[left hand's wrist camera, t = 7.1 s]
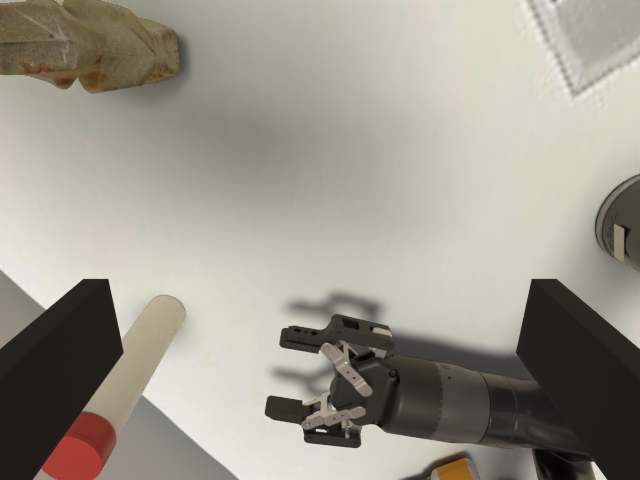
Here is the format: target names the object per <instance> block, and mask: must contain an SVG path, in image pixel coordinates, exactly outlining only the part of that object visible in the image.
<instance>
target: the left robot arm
mask: <svg viewBox="0 0 640 480" xmlns="http://www.w3.org/2000/svg"><path fill="white" fill-rule="evenodd" d="M123 353H124V351H123V346H122V341H121V336H120V332H119V327H118V322H117V318H116V313H115V308H114V304H113V299H112V294H111V290H110V285H109V280H108V279H83V280H82V281H81V282H79V283H78V284H77V285H76V286H75V287H73V288H72V289H71V290H70V291H69V292H67V293H66V294H65V295H64V296H63V297H62V298H60V299H59V300H58V301H57V302H56V303H54V304H53V305H52V306H51V307H50V308H48V309H47V310H46V311H45V312H44V313H43V314H41V315H40V316H39V317H38V318H37V319H35V320H34V321H33V322H32V323H31V324H30V325H28V326H27V327H26V328H25V329H24V330H22V331H21V332H20V333H19V334H18V335H16V336H15V337H14V338H13V339H12V340H10V341H9V342H8V343H7V344H6V345H5V346H3V347H2V348H1V349H0V480H33V479H34V477H35V476H36V474H37V473H38V472H39V470H40V469H41V467H42V466H43V465H44V463H45V462H46V461H47V459H48V458H49V456H50V455H51V454H52V452H53V451H54V449H55V448H56V447H57V445H58V444H59V442H60V441H61V440H62V438H63V437H64V435H65V434H66V433H67V431H68V430H69V428H70V427H71V426H72V424H73V423H74V422H75V420H76V419H77V417H78V416H79V415H80V413H81V412H82V410H83V409H84V408H85V406H86V405H87V403H88V402H89V401H90V399H91V398H92V396H93V395H94V394H95V392H96V391H97V390H98V388H99V387H100V385H101V384H102V383H103V381H104V380H105V378H106V377H107V376H108V374H109V373H110V371H111V370H112V369H113V367H114V366H115V364H116V363H117V362H118V360H119V359H120V358H121V356H122V355H123ZM516 353H517V355H518V356H519V358H520V359H521V360H522V362H523V363H524V364H525V366H526V367H527V369H528V370H529V371H530V373H531V374H532V376H533V377H534V378H535V380H536V381H537V383H538V384H539V385H540V387H541V388H542V390H543V391H544V392H545V394H546V395H547V396H548V398H549V399H550V401H551V402H552V403H553V405H554V406H555V408H556V409H557V410H558V412H559V413H560V415H561V416H562V417H563V419H564V420H565V422H566V423H567V424H568V426H569V427H570V428H571V430H572V431H573V433H574V434H575V435H576V437H577V438H578V440H579V441H580V442H581V444H582V445H583V447H584V448H585V449H586V451H587V452H588V454H589V455H590V456H591V458H592V459H593V461H594V462H595V463H596V465H597V466H598V467H599V469H600V470H601V472H602V473H603V474H604V476H605V477H606V479H607V480H640V349H639V348H638V347H637V346H636V345H634V344H633V343H632V342H631V341H630V340H628V339H627V338H626V337H625V336H624V335H622V334H621V333H620V332H619V331H618V330H616V329H615V328H614V327H613V326H612V325H611V324H609V323H608V322H607V321H606V320H605V319H603V318H602V317H601V316H600V315H599V314H597V313H596V312H595V311H594V310H593V309H592V308H590V307H589V306H588V305H587V304H586V303H584V302H583V301H582V300H581V299H580V298H578V297H577V296H576V295H575V294H574V293H573V292H571V291H570V290H569V289H568V288H567V287H565V286H564V285H563V284H562V283H561V282H559V281H558V280H557V279H532V280H531V285H530V290H529V294H528V299H527V304H526V308H525V313H524V318H523V322H522V327H521V332H520V336H519V341H518V346H517V351H516Z"/></svg>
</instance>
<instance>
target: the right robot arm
mask: <svg viewBox="0 0 640 480" xmlns="http://www.w3.org/2000/svg"><path fill="white" fill-rule="evenodd" d="M596 234H597V239H598V242H599V244H600V246H601V247H602V249H603V250H604V251H605V252H606V253H607V254H609V255H610V256H612V257H614V258H615V259H617V260H619V261H621V262H623V263H625V264H627V265H629V266H630V267H632V268H634V269H635V270H637V271H638V272H640V175H639V176H636V177H634V178H632V179H630V180H628V181H626V182H625V183H623V184H622V185H621V186H619V187H618V188H617V189H616V190H615V191H614V192H613V193H612V194H611V195H610V196H609V197H608V199H607V200H606V201H605V203H604V204H603V206H602V208H601V210H600V212H599V215H598V218H597V223H596ZM346 342H350V343H354V344H358V345H363V346H367V347H368V348H369V349H370V351H367V352H365V353H362V354H358V353H357V352H356V351H355V350H354V349H353V348H352V347H350V346H349V345H348V344H347V343H346ZM279 345H280V346H281V347H283V348H288V349H293V350H299V351H305V352H311V353H317V354H318V352H319V350H321V351H322V353H323V354H324V355H325V356H327V357H328V358H329V359H330V360H331V361H332V362H333V363H334V365H335V377H334V379H333V380H332V382H331V385H330V391H327V392H324V393H323V394H322V395H321V396H320V397H319V398H318V399H315V400H312V401H310V402H307V403H304V404H303V405H302V400H295V399H289V398H283V397H277V396H269V397H268V398H267V402H266V408H265V415H266V416H268V417H270V418H271V419H273V420H277V421H284V422H290V423H296V424H300V425H301V426H302V428H303V432H304V441H305V442H307V443H312V444H322V445H331V446H340V447H349V448H358V447H360V446H361V435H360V433H361V429H362V426H363V425H368V424H375V425H377V426H378V427H380V428H381V429H382V430H383V431H385V432H386V433H391V434H397V435H404V436H410V437H416V438H422V439H429V440H436V441H442V442H448V443H471V444H478V445H485V446H491V447H497V448H505V449H531V450H532V455H533V459H534V463H535V468H536V473H537V477H538V480H596V478H595V475H594V472H593V468H592V463H591V462H594V461H593V459H592V458H591V456H590V455H589V454H588V452H587V451H586V449H585V448H584V447H583V445H582V444H581V442H580V441H579V440H578V438H577V437H576V435H575V434H574V433H573V431H572V430H571V428H570V427H569V426H568V424H567V423H566V422H565V420H564V419H563V417H562V416H561V415H560V413H559V412H558V410H557V409H556V408H555V406H554V405H553V403H552V402H551V401H550V399H549V398H548V396H547V395H546V394H545V392H544V391H543V390H542V388H541V387H540V385H539V384H538V383H537V381H536V380H521V379H514V378H510V377H506V376H502V375H497V374H491V373H485V372H479V371H474V370H470V369H466V368H463V367H460V366H457V365H453V364H448V363H442V362H436V361H431V360H425V359H419V358H414V357H408V356H402V355H396V354H393V355H390V356H387V355H386V353H387V351H390V350H392V349H393V348H394V342H393V338H392V335H391V331H390V328H389V327H388V326H386V325H382V324H377V323H373V322H369V321H365V320H360V319H356V318H352V317H348V316H344V315H339V314H335V315H333V316H332V318H331V322H330V323H329V325H328V326H327V327H326V328H325V329H323V330H316V329H311V328H304V327H299V326H289V328H283V329H282V331H281V336H280V343H279ZM332 405H333V406H334V407H335V408H336V410H333V411H332ZM318 411H320V412H318ZM315 412H318V413H315ZM314 413H315V414H314ZM316 429H323V430H326V431H327V433H325V432H316Z"/></svg>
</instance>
